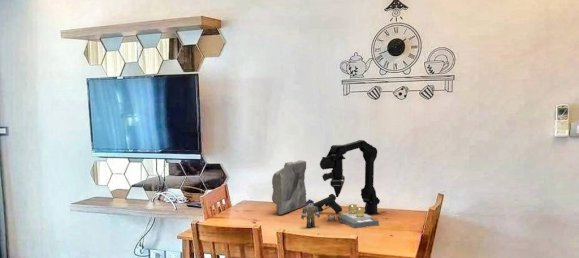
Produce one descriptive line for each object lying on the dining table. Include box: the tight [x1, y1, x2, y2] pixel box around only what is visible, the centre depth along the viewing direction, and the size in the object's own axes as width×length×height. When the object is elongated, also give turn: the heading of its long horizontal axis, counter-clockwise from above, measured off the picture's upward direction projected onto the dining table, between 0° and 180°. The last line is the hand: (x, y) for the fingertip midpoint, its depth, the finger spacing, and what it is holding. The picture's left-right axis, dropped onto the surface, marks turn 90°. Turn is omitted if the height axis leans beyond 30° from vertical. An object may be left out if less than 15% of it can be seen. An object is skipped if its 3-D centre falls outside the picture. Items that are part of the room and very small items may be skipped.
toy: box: [300, 199, 321, 229], centre depth 244 cm, size 10×4×15 cm, turn 114°
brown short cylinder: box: [327, 213, 336, 222], centre depth 259 cm, size 4×4×3 cm
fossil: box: [271, 159, 307, 215], centre depth 287 cm, size 34×9×30 cm, turn 153°
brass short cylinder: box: [348, 204, 357, 214], centre depth 257 cm, size 4×4×4 cm
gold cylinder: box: [356, 206, 365, 217], centre depth 249 cm, size 4×4×4 cm
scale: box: [336, 211, 380, 229], centre depth 252 cm, size 15×19×4 cm
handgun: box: [313, 193, 343, 215], centre depth 276 cm, size 2×17×12 cm, turn 78°
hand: (338, 195), depth 259 cm, fingers open, 9 cm apart
